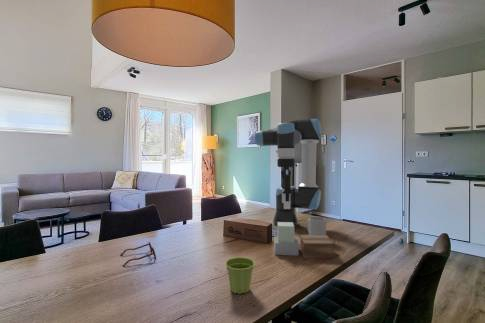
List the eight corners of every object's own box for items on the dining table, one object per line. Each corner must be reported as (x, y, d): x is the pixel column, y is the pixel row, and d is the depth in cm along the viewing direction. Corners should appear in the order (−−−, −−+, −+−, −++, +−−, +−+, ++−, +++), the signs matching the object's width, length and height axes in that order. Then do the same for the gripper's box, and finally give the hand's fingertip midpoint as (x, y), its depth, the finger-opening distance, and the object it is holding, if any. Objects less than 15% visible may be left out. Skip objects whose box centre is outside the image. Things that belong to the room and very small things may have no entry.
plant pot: (232, 280, 90) (232, 255, 90) (258, 285, 86) (258, 259, 86) (220, 293, 81) (220, 266, 81) (248, 300, 77) (248, 271, 77)
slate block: (274, 246, 122) (274, 235, 122) (295, 247, 121) (295, 236, 121) (274, 254, 112) (274, 243, 112) (298, 255, 111) (298, 243, 111)
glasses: (156, 261, 107) (156, 249, 107) (121, 267, 101) (121, 255, 101) (151, 250, 119) (150, 239, 118) (119, 256, 112) (119, 244, 112)
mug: (329, 241, 130) (330, 219, 129) (316, 243, 126) (316, 221, 126) (313, 234, 140) (313, 214, 140) (300, 236, 137) (300, 215, 136)
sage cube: (277, 237, 121) (277, 222, 120) (292, 237, 120) (292, 222, 120) (278, 242, 114) (278, 226, 113) (294, 242, 113) (294, 226, 113)
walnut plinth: (300, 247, 121) (300, 234, 121) (326, 248, 120) (326, 235, 120) (303, 257, 109) (303, 243, 109) (333, 258, 108) (333, 244, 108)
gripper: (276, 157, 128) (276, 200, 129) (278, 158, 104) (278, 211, 104) (291, 157, 128) (291, 200, 128) (297, 158, 103) (297, 211, 104)
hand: (285, 205), depth 116 cm, fingers open, 13 cm apart
